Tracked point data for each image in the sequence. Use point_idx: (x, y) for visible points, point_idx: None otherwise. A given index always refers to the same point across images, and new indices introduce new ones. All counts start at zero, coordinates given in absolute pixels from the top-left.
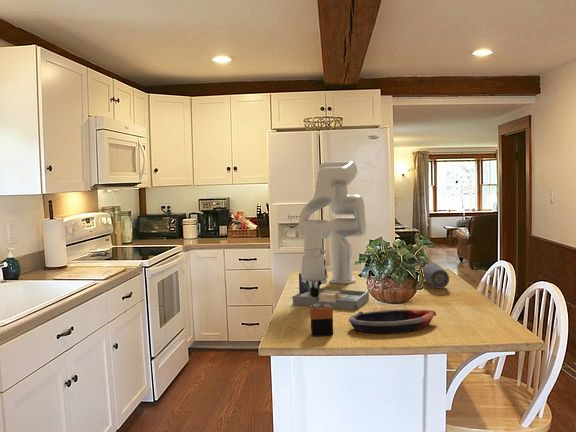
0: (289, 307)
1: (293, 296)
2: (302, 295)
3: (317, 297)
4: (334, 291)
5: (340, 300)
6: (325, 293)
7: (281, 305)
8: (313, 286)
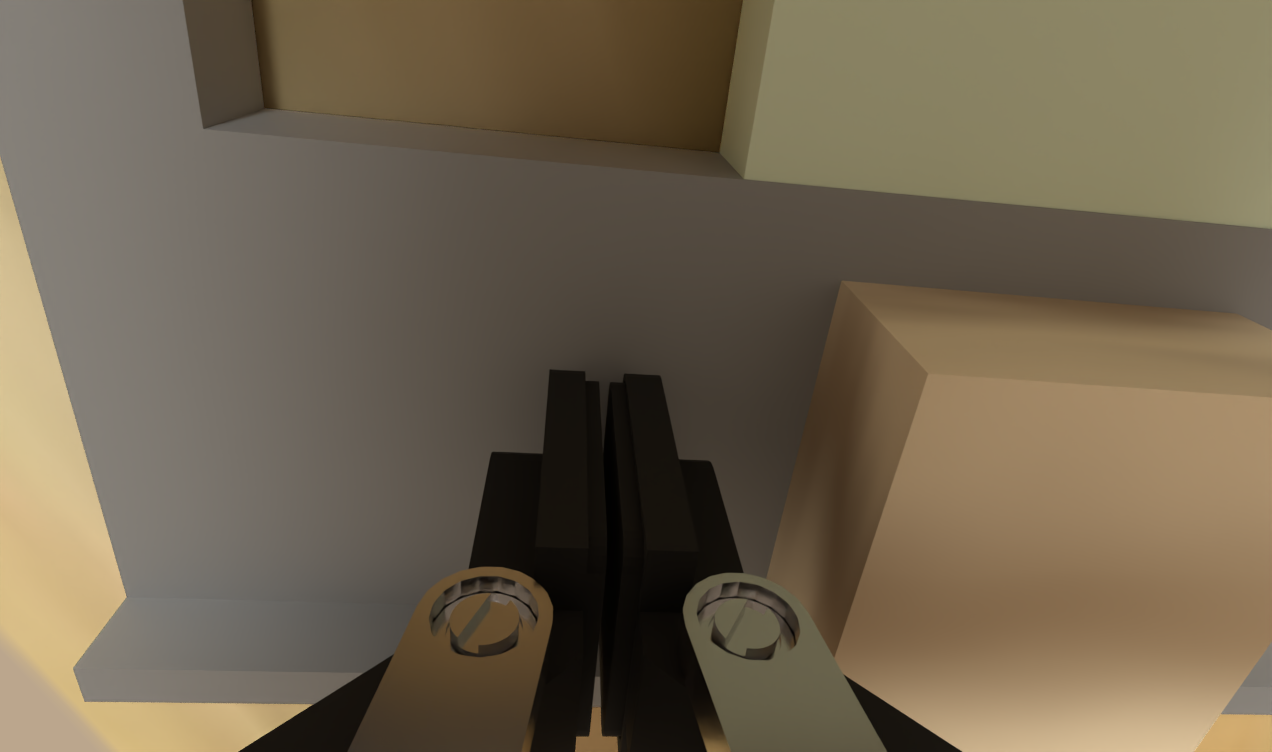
0: (255, 709)
1: (115, 691)
2: (90, 208)
3: (636, 341)
4: (1248, 477)
5: (1231, 701)
6: (971, 707)
7: (26, 649)
8: (575, 725)
